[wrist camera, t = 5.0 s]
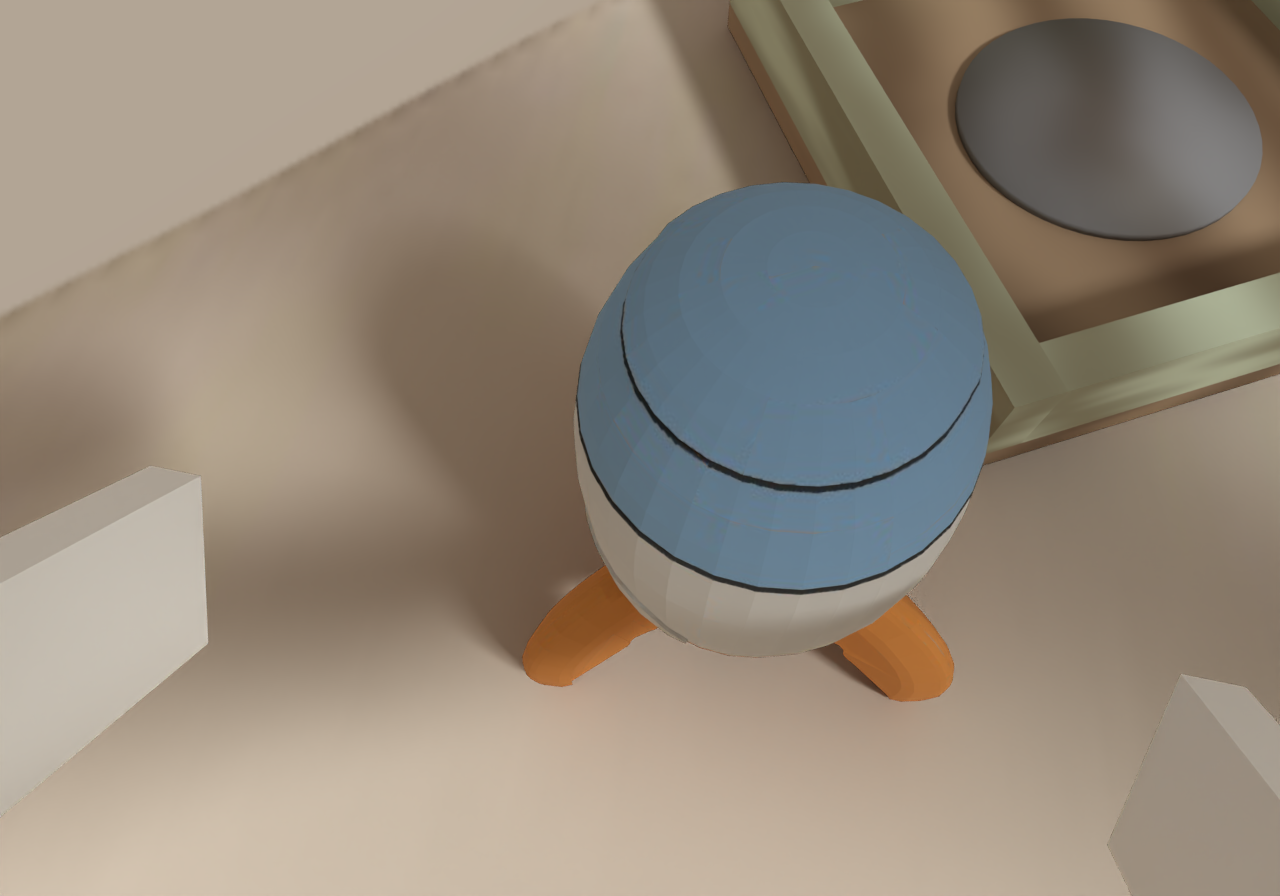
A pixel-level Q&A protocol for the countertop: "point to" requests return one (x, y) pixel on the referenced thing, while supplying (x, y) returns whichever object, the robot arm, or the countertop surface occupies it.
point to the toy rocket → (776, 438)
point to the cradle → (1059, 180)
